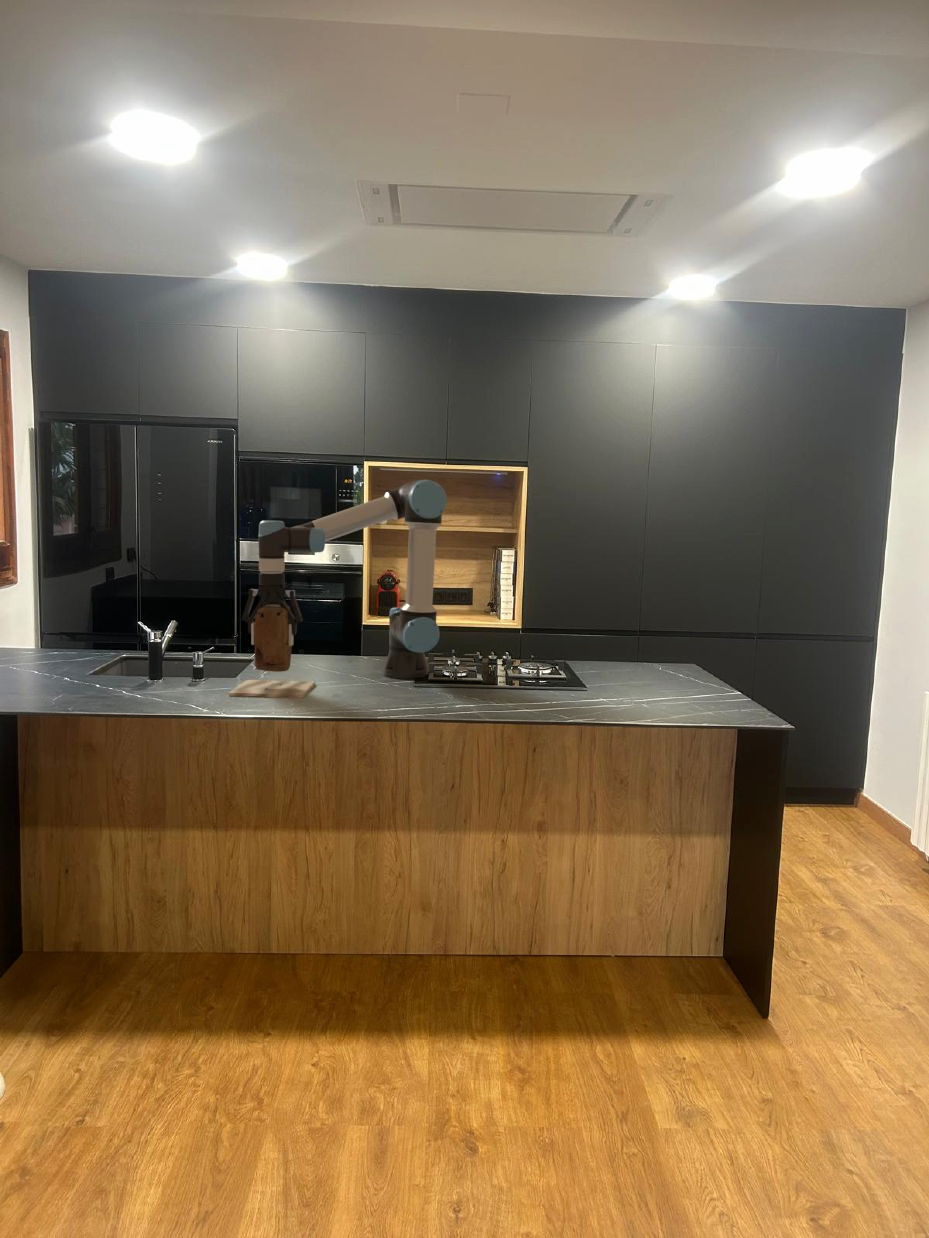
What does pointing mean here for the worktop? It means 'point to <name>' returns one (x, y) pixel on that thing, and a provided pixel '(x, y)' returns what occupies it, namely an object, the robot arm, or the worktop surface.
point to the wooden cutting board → (273, 688)
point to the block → (272, 639)
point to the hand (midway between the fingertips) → (272, 644)
